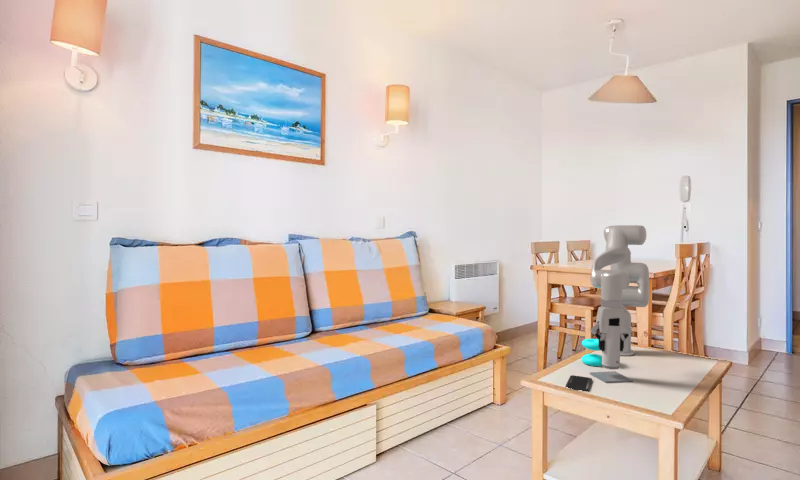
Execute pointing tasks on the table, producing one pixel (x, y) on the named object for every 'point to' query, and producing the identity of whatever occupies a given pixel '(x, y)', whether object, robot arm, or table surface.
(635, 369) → the table surface
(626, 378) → the coaster
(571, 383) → the phone
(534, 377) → the table surface
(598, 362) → the donuts
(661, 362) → the table surface
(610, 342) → the travel mug
